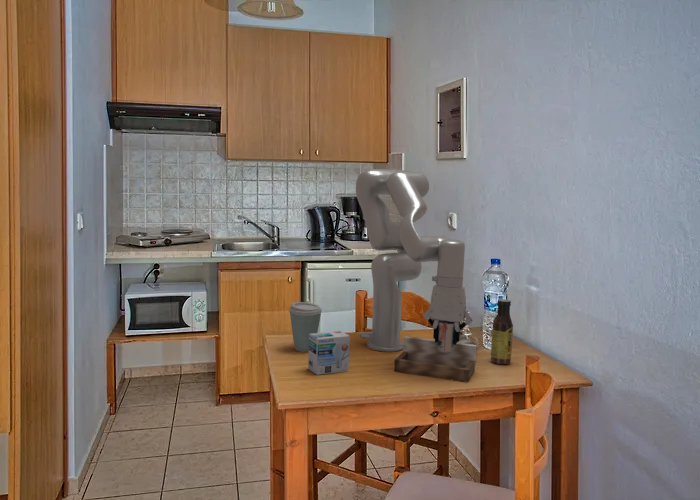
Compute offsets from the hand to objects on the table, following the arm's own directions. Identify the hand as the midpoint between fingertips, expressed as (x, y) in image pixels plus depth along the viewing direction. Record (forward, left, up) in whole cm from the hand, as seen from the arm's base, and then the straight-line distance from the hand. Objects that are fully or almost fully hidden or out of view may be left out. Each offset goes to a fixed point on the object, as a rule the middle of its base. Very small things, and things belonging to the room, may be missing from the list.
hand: (446, 341), depth 188 cm
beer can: (0, 0, -3) cm, 3 cm away
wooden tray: (-3, -1, -9) cm, 10 cm away
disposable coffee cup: (-47, +2, -9) cm, 48 cm away
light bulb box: (-32, -14, -9) cm, 36 cm away
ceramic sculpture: (+1, +17, -9) cm, 20 cm away
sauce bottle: (+14, +17, -9) cm, 24 cm away
